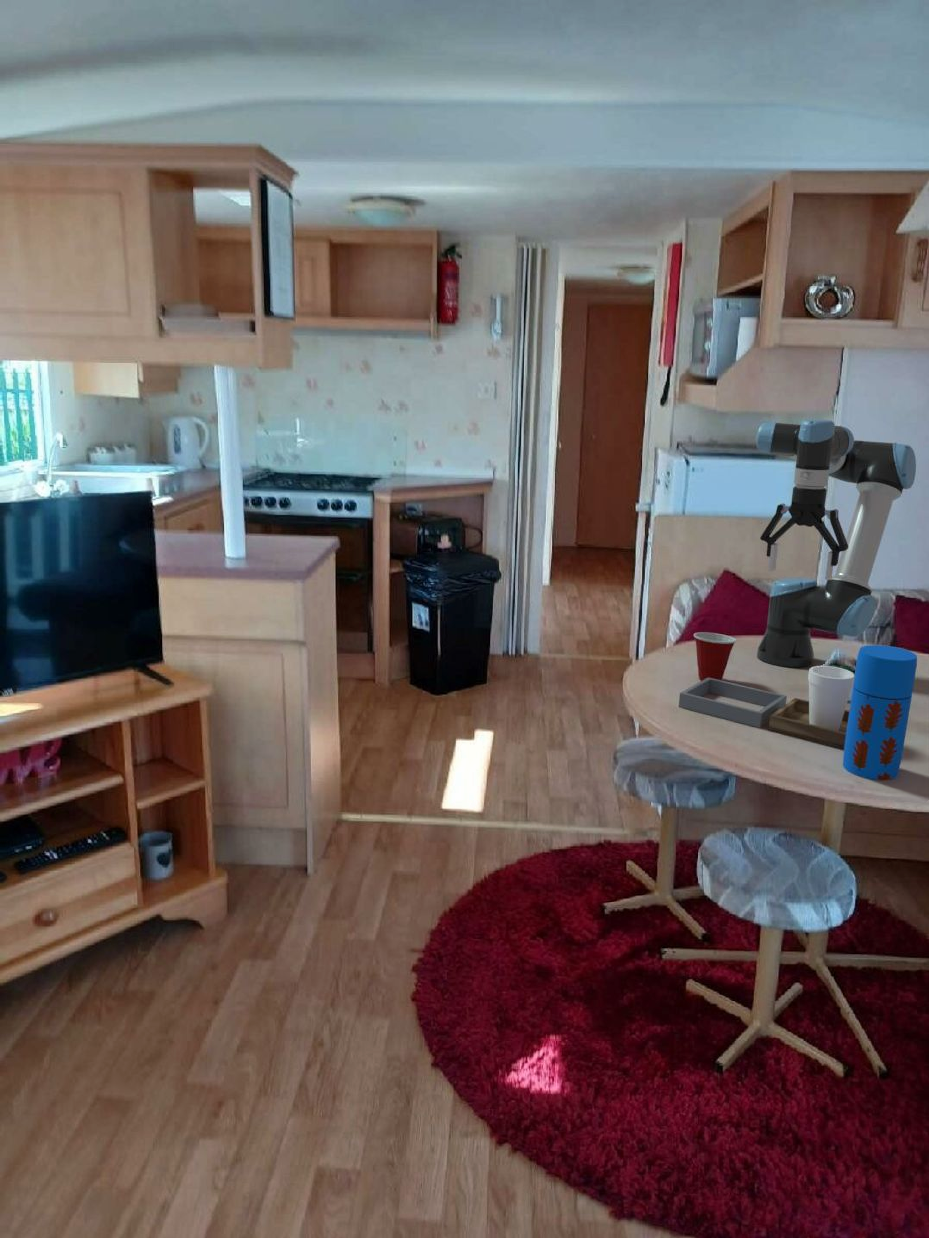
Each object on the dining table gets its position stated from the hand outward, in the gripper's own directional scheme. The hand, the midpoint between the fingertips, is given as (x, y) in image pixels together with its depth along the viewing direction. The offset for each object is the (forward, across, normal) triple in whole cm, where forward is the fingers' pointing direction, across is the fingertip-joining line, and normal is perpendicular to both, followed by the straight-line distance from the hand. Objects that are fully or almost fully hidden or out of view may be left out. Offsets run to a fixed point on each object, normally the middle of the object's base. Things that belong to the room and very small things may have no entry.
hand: (799, 574), depth 229 cm
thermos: (+30, +29, -35) cm, 55 cm away
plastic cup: (+31, -19, -2) cm, 37 cm away
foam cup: (+30, +15, -19) cm, 39 cm away
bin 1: (+30, -6, -19) cm, 36 cm away
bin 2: (+30, +16, -19) cm, 39 cm away
